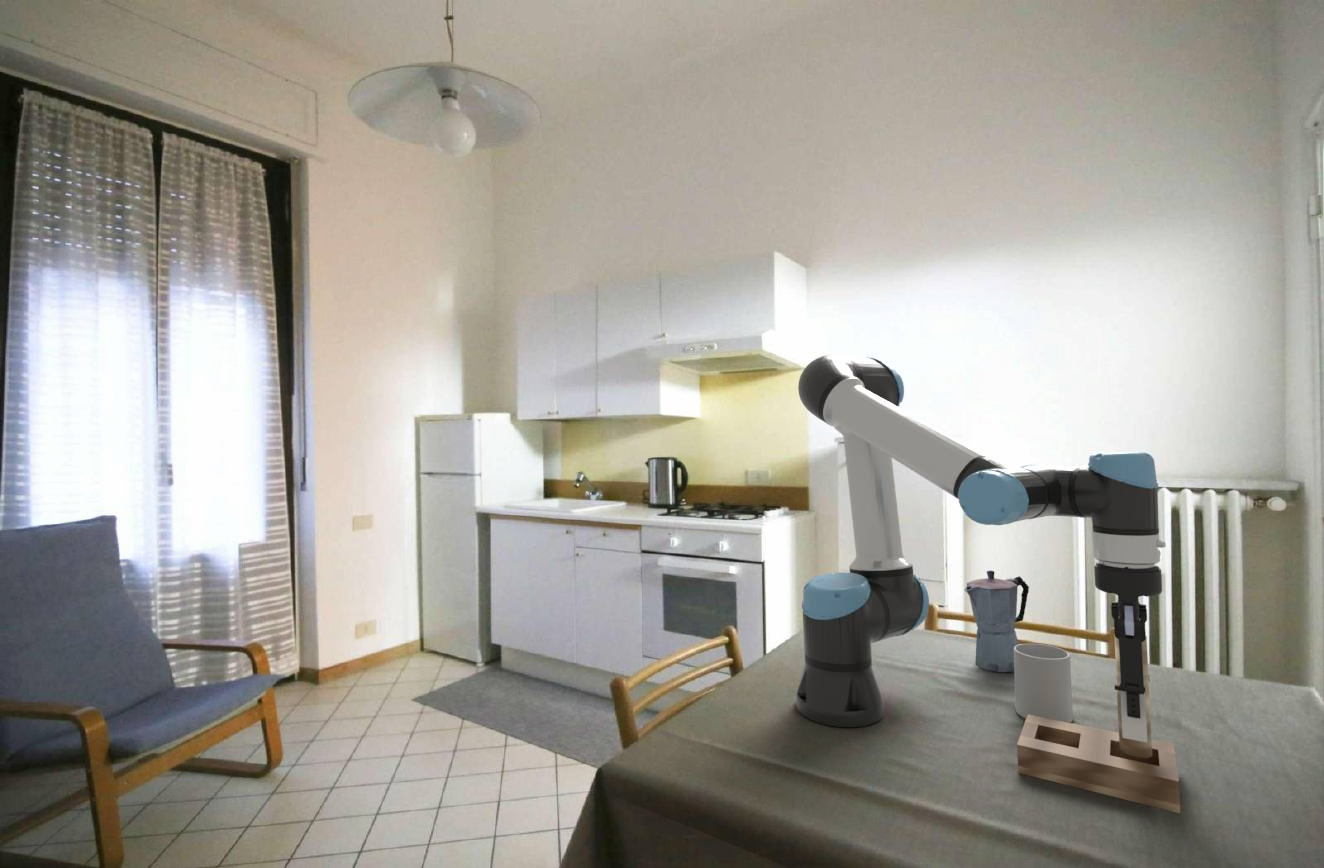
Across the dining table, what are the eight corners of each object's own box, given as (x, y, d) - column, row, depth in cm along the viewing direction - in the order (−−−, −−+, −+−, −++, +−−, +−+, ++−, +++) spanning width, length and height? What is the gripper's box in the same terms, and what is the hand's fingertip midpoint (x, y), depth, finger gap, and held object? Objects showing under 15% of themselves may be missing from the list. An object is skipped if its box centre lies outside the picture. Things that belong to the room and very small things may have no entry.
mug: (1084, 725, 104) (1082, 658, 105) (1032, 726, 105) (1030, 659, 105) (1042, 696, 116) (1040, 636, 117) (995, 697, 117) (993, 637, 117)
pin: (1119, 753, 87) (1114, 636, 87) (1119, 742, 90) (1114, 629, 90) (1152, 760, 85) (1146, 640, 85) (1151, 749, 87) (1146, 633, 88)
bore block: (1018, 772, 90) (1017, 744, 90) (1028, 739, 100) (1027, 714, 100) (1180, 813, 80) (1179, 781, 80) (1174, 772, 89) (1173, 743, 89)
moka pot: (953, 662, 135) (949, 569, 135) (1009, 653, 140) (1006, 563, 140) (988, 678, 126) (984, 577, 126) (1047, 668, 130) (1044, 571, 131)
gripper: (1163, 576, 79) (1173, 766, 78) (1158, 555, 92) (1166, 717, 92) (1091, 571, 83) (1099, 750, 83) (1096, 551, 97) (1103, 706, 96)
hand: (1134, 732), depth 87 cm, fingers closed on pin, 3 cm apart
